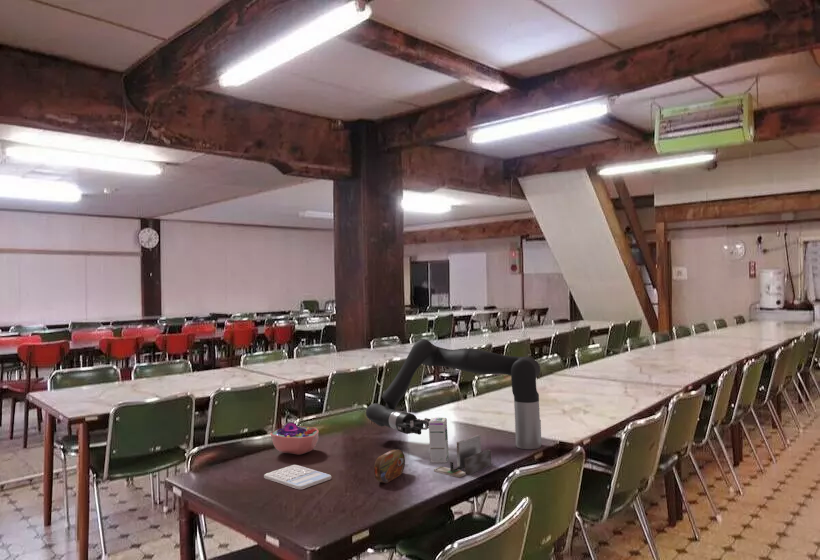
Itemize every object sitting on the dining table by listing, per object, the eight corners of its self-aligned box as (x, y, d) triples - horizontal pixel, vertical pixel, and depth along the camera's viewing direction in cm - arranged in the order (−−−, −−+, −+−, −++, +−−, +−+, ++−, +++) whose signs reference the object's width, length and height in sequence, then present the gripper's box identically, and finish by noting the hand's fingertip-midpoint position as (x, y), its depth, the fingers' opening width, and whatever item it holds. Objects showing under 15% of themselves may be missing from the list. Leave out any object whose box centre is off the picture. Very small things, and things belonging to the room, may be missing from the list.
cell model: (289, 464, 204) (288, 432, 204) (263, 453, 219) (262, 423, 219) (329, 453, 215) (328, 423, 215) (302, 443, 230) (301, 415, 230)
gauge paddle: (478, 460, 197) (477, 434, 198) (481, 461, 197) (480, 435, 197) (450, 472, 186) (449, 445, 186) (452, 473, 185) (451, 445, 185)
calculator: (295, 468, 200) (295, 463, 200) (333, 480, 187) (332, 474, 187) (262, 479, 190) (262, 473, 190) (300, 491, 177) (300, 485, 177)
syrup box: (446, 463, 198) (445, 421, 198) (429, 462, 199) (428, 421, 200) (448, 458, 204) (447, 417, 204) (432, 457, 205) (431, 417, 205)
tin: (381, 486, 177) (380, 459, 177) (372, 485, 179) (371, 458, 179) (406, 472, 190) (405, 447, 190) (398, 471, 192) (397, 445, 192)
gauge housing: (466, 458, 203) (466, 444, 203) (493, 464, 195) (492, 449, 195) (433, 471, 190) (433, 456, 190) (461, 478, 182) (460, 462, 182)
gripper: (387, 414, 214) (413, 422, 201) (417, 408, 223) (444, 415, 210) (387, 435, 214) (414, 443, 201) (417, 428, 223) (445, 436, 210)
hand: (429, 429), depth 205 cm, fingers open, 8 cm apart
